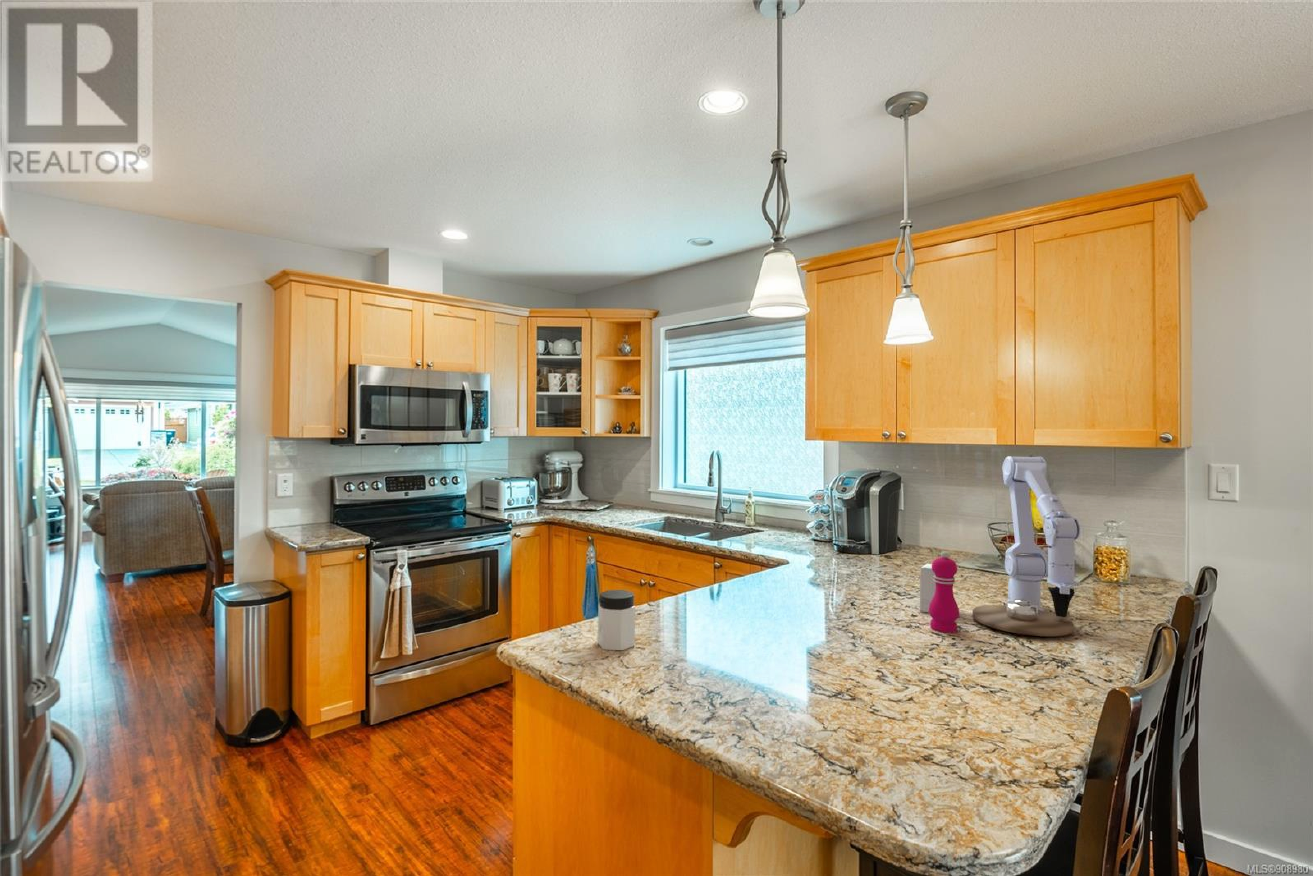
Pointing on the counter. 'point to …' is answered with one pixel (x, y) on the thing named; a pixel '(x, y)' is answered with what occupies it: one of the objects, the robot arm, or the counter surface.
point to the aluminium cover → (1022, 610)
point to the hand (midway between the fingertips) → (1060, 616)
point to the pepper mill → (944, 595)
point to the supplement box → (926, 587)
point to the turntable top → (1023, 622)
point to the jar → (616, 620)
